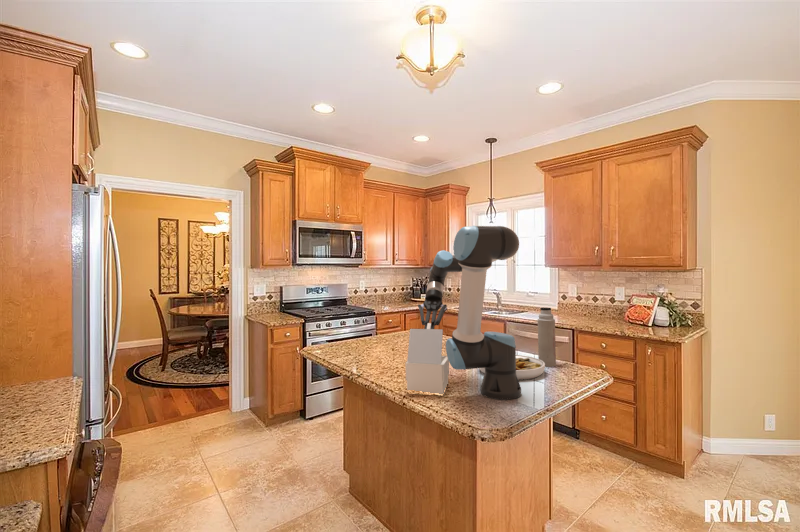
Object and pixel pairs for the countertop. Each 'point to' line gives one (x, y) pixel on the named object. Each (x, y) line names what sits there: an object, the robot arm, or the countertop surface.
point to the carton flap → (425, 346)
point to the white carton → (428, 376)
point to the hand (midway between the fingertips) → (427, 338)
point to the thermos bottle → (546, 338)
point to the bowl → (527, 367)
